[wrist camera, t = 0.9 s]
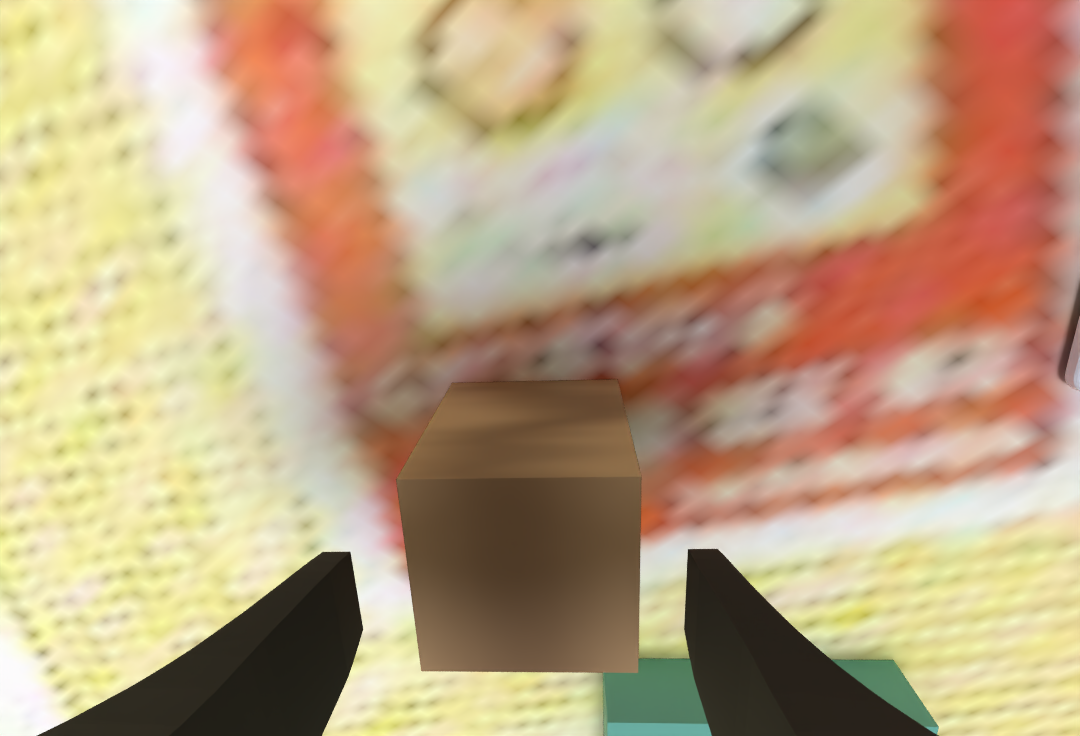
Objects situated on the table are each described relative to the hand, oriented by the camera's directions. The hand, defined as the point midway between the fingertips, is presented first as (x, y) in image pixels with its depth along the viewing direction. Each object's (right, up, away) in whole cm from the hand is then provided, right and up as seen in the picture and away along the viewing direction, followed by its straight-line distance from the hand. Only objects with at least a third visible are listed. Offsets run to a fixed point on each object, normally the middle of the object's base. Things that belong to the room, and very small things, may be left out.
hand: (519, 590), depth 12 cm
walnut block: (0, +2, +6) cm, 6 cm away
